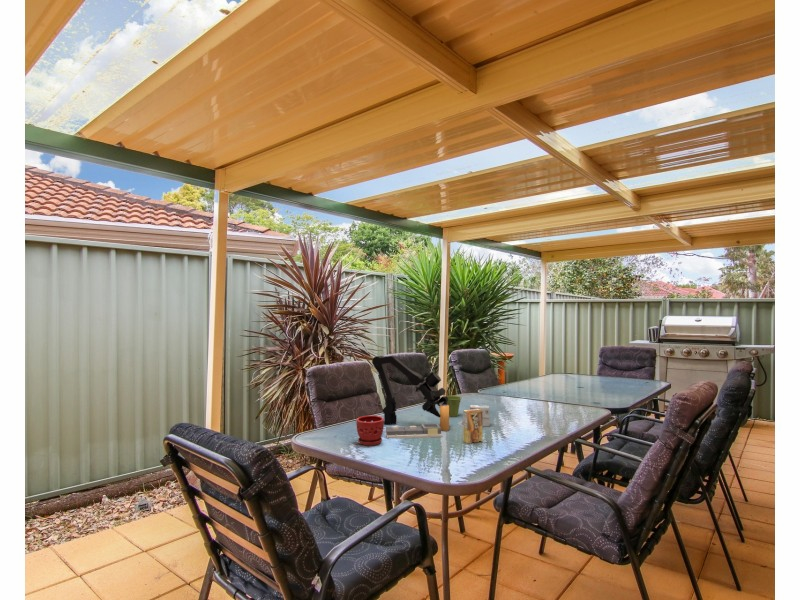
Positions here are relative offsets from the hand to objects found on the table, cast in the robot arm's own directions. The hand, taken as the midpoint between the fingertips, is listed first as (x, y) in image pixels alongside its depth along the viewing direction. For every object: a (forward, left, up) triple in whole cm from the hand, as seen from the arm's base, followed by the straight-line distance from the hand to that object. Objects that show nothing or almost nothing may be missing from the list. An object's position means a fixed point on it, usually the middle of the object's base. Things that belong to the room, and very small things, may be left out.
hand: (444, 415), depth 244 cm
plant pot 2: (+12, +35, -8) cm, 37 cm away
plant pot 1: (-41, -21, -8) cm, 47 cm away
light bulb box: (+22, +9, -8) cm, 25 cm away
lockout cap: (0, 0, -8) cm, 8 cm away
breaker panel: (-18, -8, -8) cm, 22 cm away
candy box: (+9, -24, -8) cm, 27 cm away
